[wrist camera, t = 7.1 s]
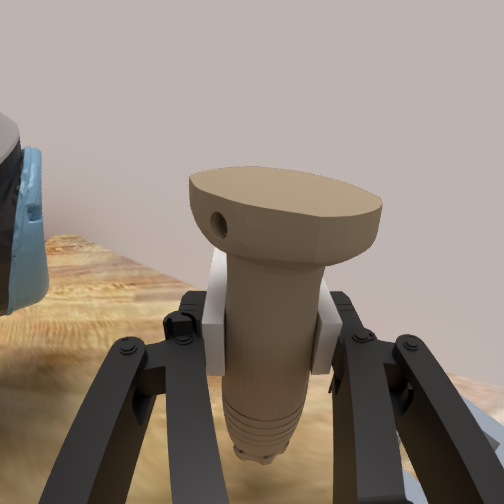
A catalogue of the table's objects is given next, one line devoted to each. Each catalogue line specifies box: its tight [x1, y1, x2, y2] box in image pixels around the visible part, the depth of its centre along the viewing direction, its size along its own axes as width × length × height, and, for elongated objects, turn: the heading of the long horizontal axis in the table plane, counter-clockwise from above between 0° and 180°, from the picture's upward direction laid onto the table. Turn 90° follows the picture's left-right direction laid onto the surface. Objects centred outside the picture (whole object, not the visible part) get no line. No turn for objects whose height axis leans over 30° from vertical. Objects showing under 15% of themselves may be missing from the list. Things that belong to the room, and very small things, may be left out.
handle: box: [189, 166, 382, 465], centre depth 13 cm, size 5×6×15 cm
